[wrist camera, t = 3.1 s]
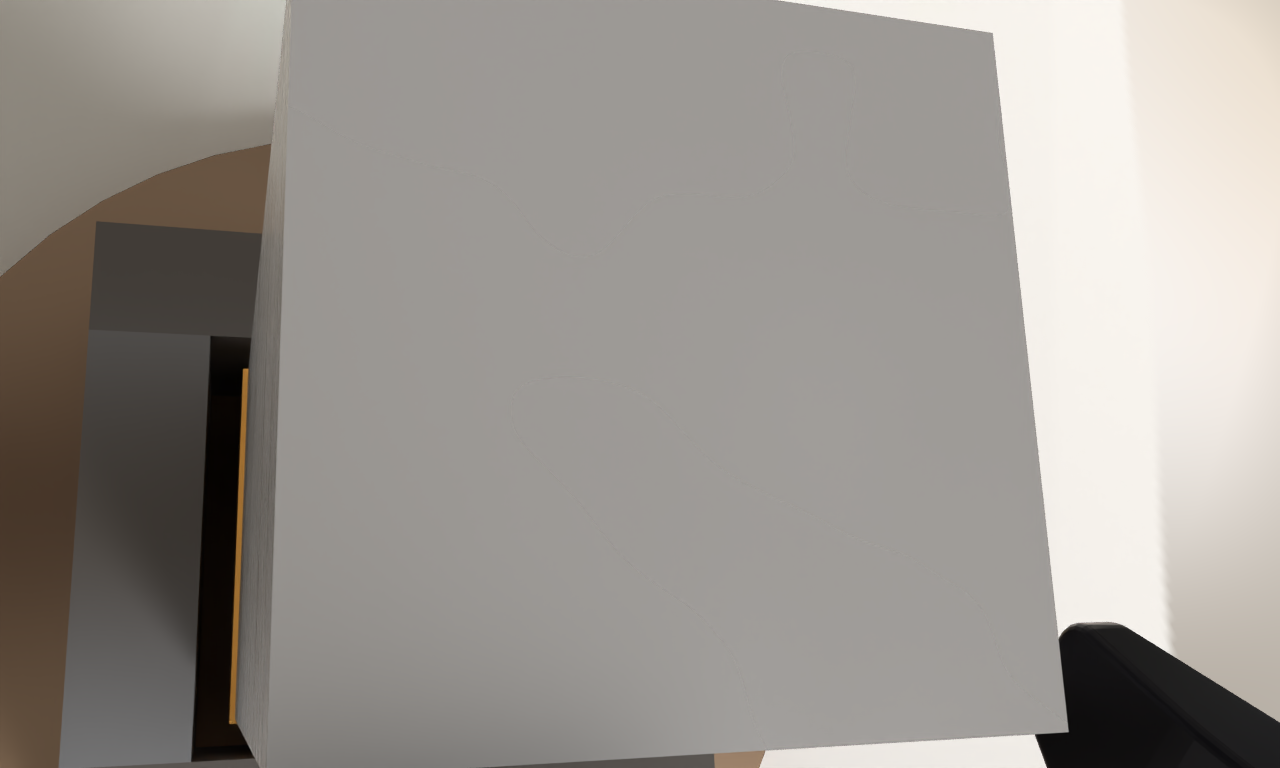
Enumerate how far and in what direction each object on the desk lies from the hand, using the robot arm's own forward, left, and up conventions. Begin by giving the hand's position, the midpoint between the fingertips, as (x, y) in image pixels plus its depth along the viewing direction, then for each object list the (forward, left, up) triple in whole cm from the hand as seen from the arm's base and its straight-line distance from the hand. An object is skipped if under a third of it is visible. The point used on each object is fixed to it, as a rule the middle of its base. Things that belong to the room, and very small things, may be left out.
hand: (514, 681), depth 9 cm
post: (+1, -1, -8) cm, 8 cm away
